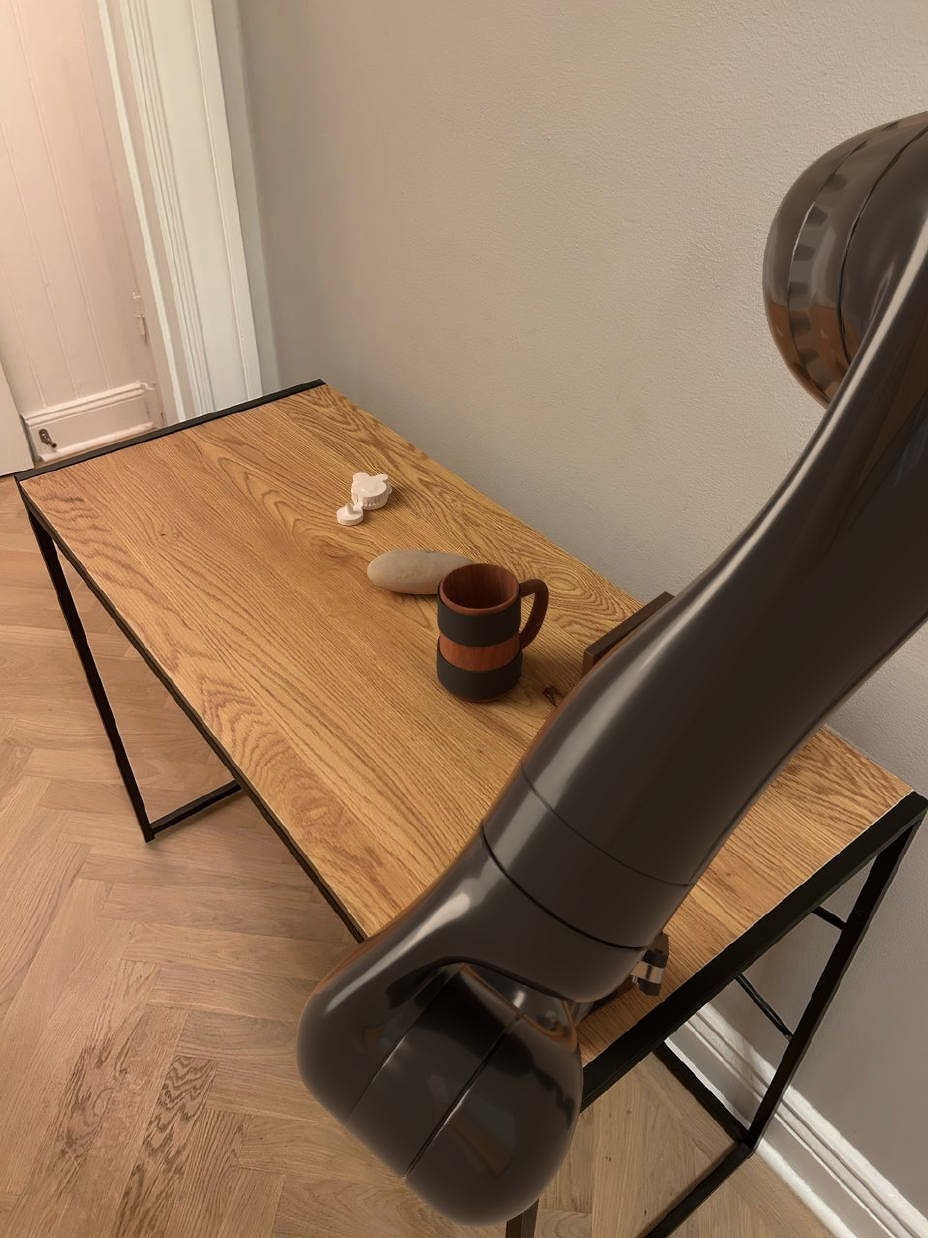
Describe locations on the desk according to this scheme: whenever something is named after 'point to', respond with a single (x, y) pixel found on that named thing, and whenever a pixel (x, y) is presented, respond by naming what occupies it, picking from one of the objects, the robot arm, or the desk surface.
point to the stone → (413, 570)
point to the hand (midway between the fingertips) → (577, 907)
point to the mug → (484, 630)
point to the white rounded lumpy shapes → (364, 497)
